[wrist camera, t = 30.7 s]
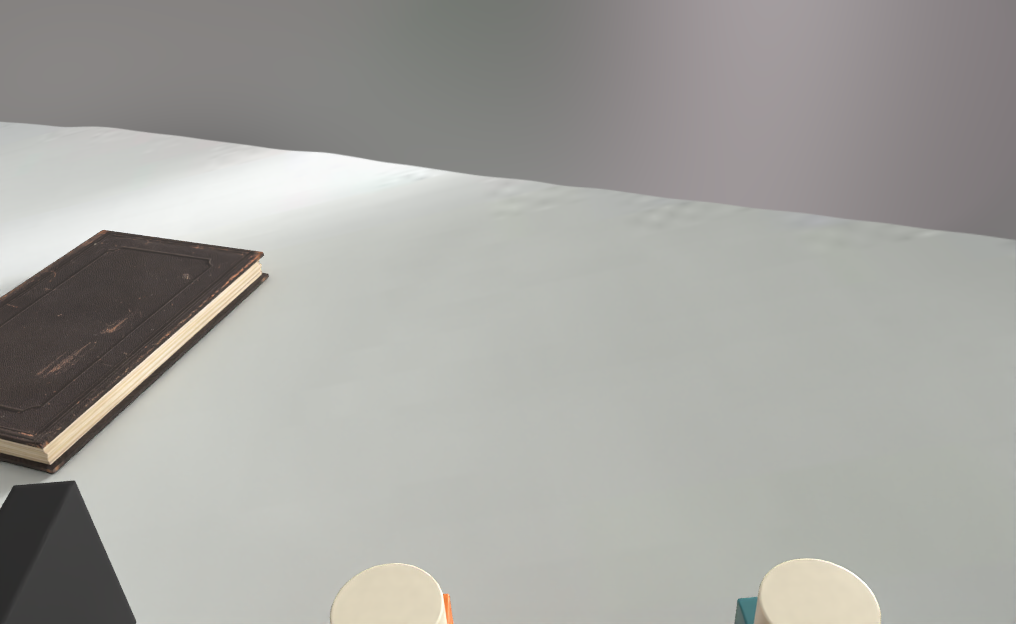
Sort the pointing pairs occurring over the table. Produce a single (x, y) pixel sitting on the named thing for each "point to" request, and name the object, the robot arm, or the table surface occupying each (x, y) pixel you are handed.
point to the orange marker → (391, 598)
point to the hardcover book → (105, 334)
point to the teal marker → (810, 596)
